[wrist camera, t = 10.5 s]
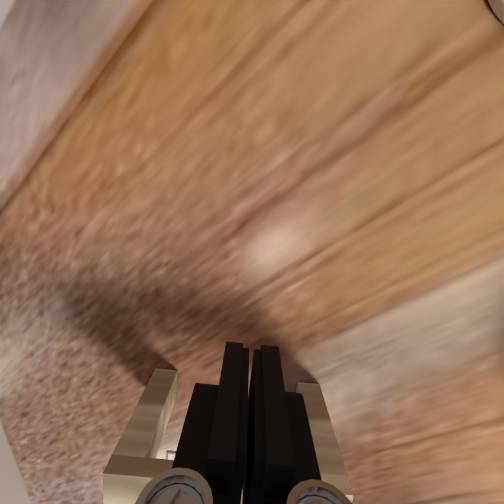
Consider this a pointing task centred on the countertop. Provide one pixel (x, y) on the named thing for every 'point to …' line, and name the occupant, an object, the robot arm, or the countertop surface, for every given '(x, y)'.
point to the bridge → (147, 467)
